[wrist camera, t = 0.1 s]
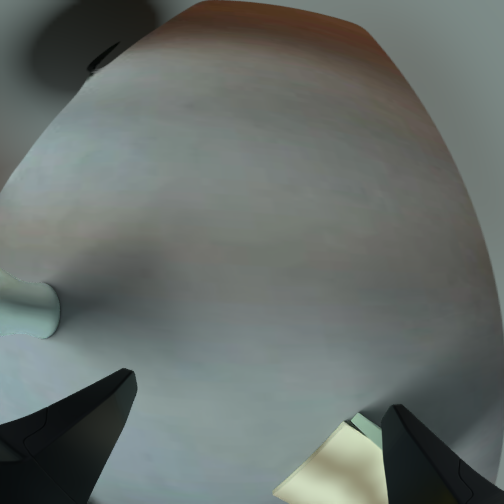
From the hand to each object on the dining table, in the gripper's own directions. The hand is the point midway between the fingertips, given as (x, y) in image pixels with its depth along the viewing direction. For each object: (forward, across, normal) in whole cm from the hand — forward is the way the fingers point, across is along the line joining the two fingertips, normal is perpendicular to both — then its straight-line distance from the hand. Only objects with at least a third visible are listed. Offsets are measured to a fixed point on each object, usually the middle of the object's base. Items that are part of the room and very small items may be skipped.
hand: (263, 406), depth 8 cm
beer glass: (+12, +24, +9) cm, 28 cm away
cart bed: (+6, -11, +19) cm, 23 cm away
